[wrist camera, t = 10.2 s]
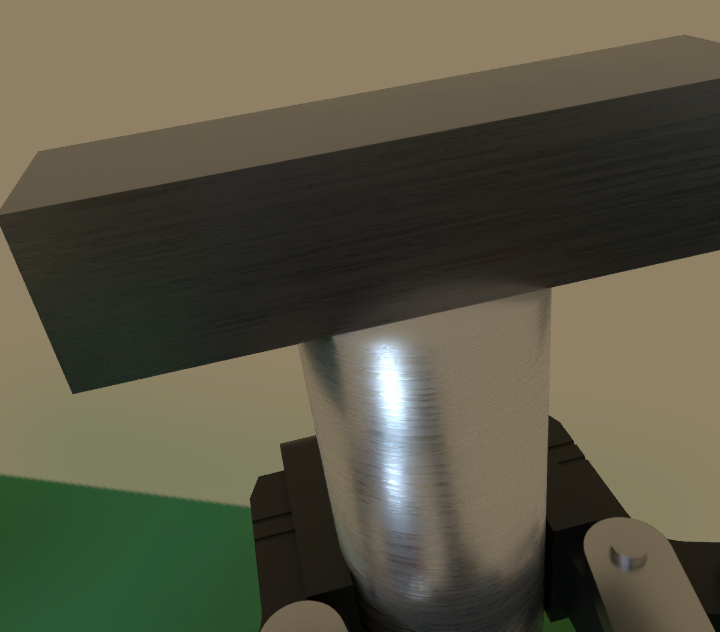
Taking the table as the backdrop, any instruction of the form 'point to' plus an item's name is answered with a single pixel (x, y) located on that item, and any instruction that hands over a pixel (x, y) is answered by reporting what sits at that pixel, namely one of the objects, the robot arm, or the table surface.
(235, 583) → the table surface
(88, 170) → the t key
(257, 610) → the table surface
